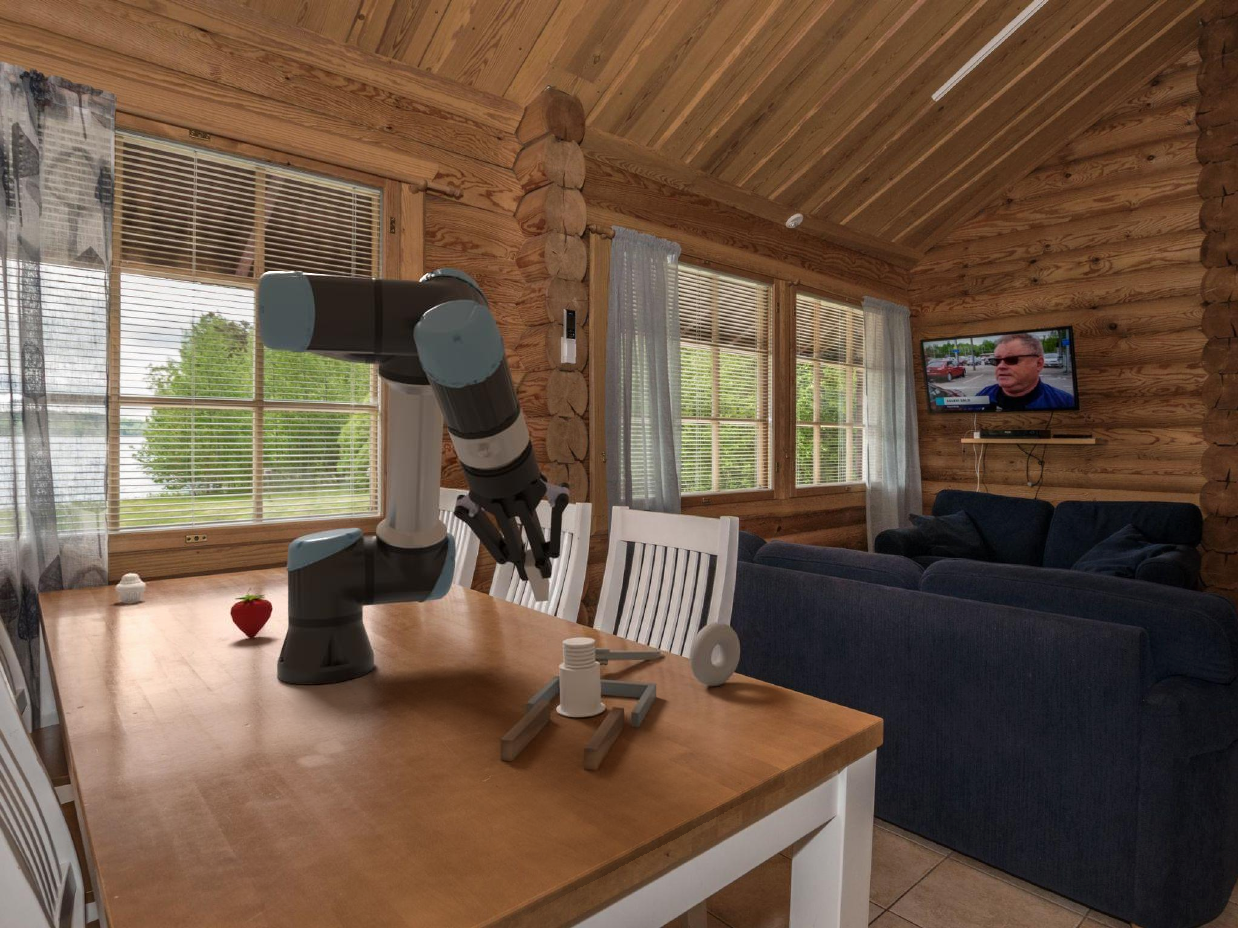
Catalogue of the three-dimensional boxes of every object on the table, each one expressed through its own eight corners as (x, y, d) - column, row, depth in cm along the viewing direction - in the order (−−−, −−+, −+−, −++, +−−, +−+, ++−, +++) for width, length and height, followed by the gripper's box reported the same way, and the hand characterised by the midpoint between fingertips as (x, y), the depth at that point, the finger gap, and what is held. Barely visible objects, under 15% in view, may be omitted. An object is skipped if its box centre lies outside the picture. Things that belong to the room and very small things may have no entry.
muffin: (123, 605, 176) (122, 575, 176) (110, 602, 179) (109, 573, 179) (151, 601, 181) (150, 571, 181) (138, 598, 185) (138, 569, 184)
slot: (500, 759, 92) (500, 739, 92) (539, 718, 105) (539, 700, 105) (596, 770, 89) (596, 749, 89) (624, 726, 102) (624, 707, 102)
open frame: (526, 717, 106) (526, 702, 106) (555, 688, 118) (555, 675, 118) (638, 727, 102) (638, 712, 102) (656, 696, 114) (656, 683, 114)
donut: (700, 694, 115) (700, 629, 115) (684, 689, 118) (684, 625, 117) (744, 681, 121) (745, 619, 121) (728, 676, 124) (729, 615, 124)
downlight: (617, 710, 108) (615, 640, 108) (580, 723, 103) (577, 650, 103) (581, 699, 114) (579, 632, 114) (544, 710, 109) (542, 641, 109)
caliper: (576, 682, 121) (576, 644, 121) (571, 681, 122) (571, 642, 122) (665, 658, 135) (665, 623, 135) (660, 656, 136) (660, 622, 136)
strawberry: (276, 637, 148) (275, 586, 148) (234, 644, 143) (233, 591, 143) (269, 631, 152) (268, 582, 152) (227, 637, 148) (226, 586, 147)
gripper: (426, 480, 75) (487, 622, 91) (555, 465, 74) (595, 611, 90) (438, 432, 81) (494, 574, 96) (558, 417, 80) (595, 563, 95)
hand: (542, 592), depth 93 cm, fingers closed
